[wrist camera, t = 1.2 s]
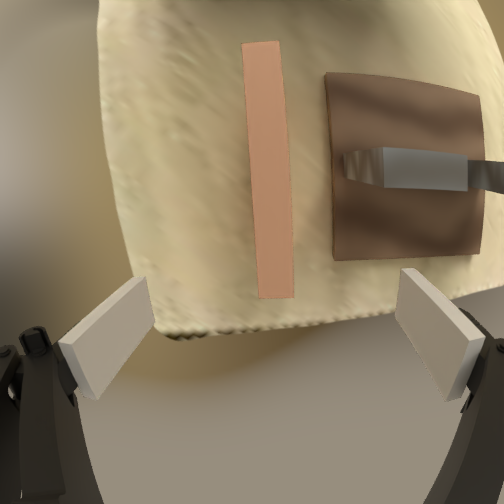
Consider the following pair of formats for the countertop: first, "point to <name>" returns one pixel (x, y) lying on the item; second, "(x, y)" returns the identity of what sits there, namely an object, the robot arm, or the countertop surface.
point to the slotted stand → (406, 168)
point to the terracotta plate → (269, 168)
